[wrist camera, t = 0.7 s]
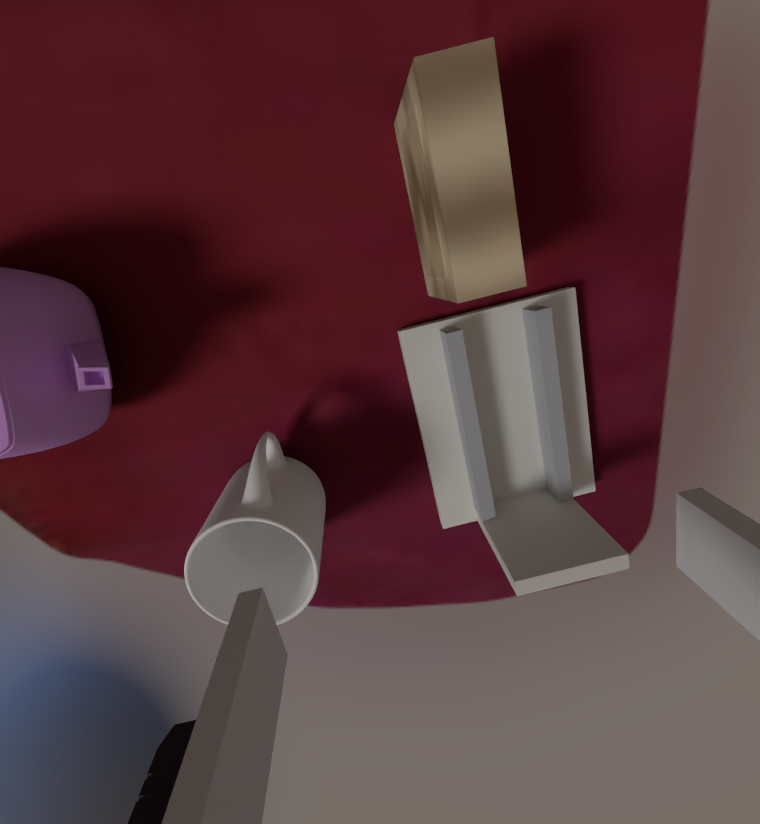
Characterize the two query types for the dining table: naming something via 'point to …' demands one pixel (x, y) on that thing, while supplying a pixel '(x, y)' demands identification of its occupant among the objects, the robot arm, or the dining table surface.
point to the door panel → (460, 173)
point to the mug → (261, 537)
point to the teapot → (49, 364)
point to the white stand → (512, 435)
